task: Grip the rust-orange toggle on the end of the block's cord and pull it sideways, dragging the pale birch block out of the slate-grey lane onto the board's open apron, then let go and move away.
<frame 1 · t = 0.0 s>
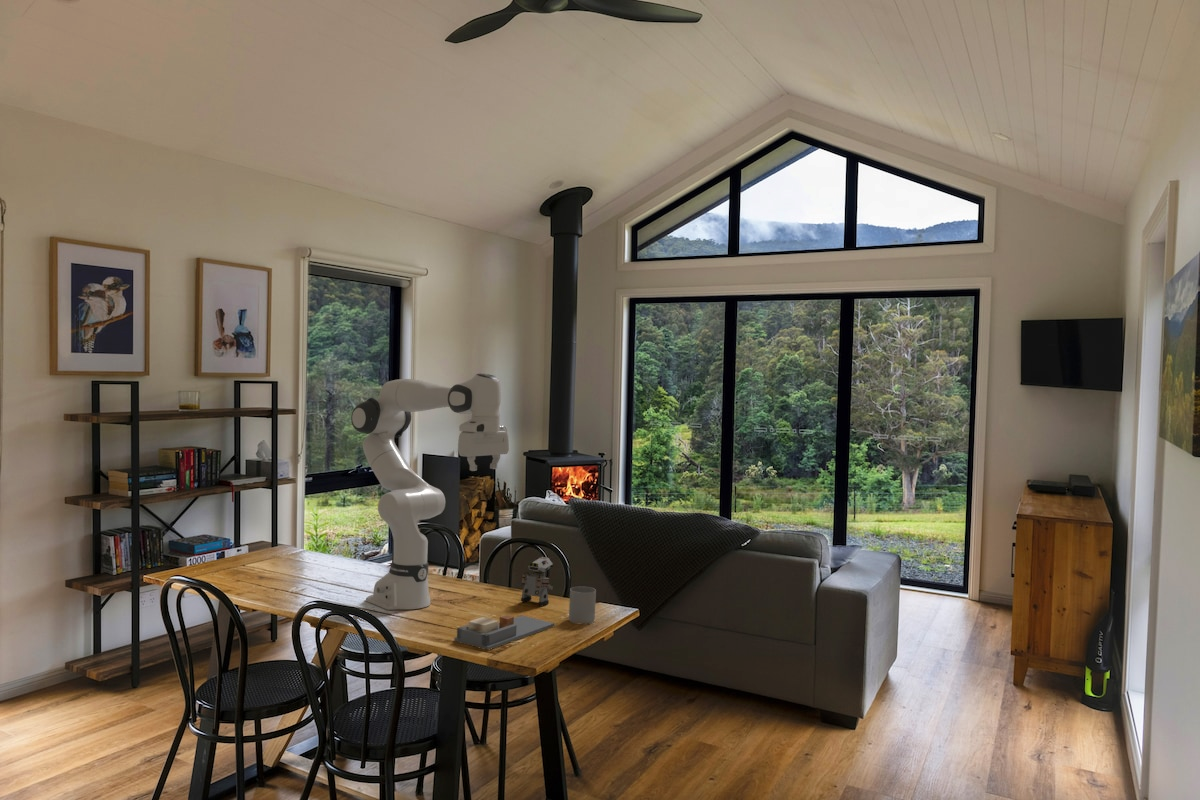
hand: (483, 469, 256), 48 cm above the table, tool pointing down, fingers open, 8 cm apart
lane: (495, 637, 242), on the table
cup: (581, 621, 264), on the table
figurine: (538, 602, 284), on the table
block: (482, 638, 238), point 1 cm above the table, touching lane
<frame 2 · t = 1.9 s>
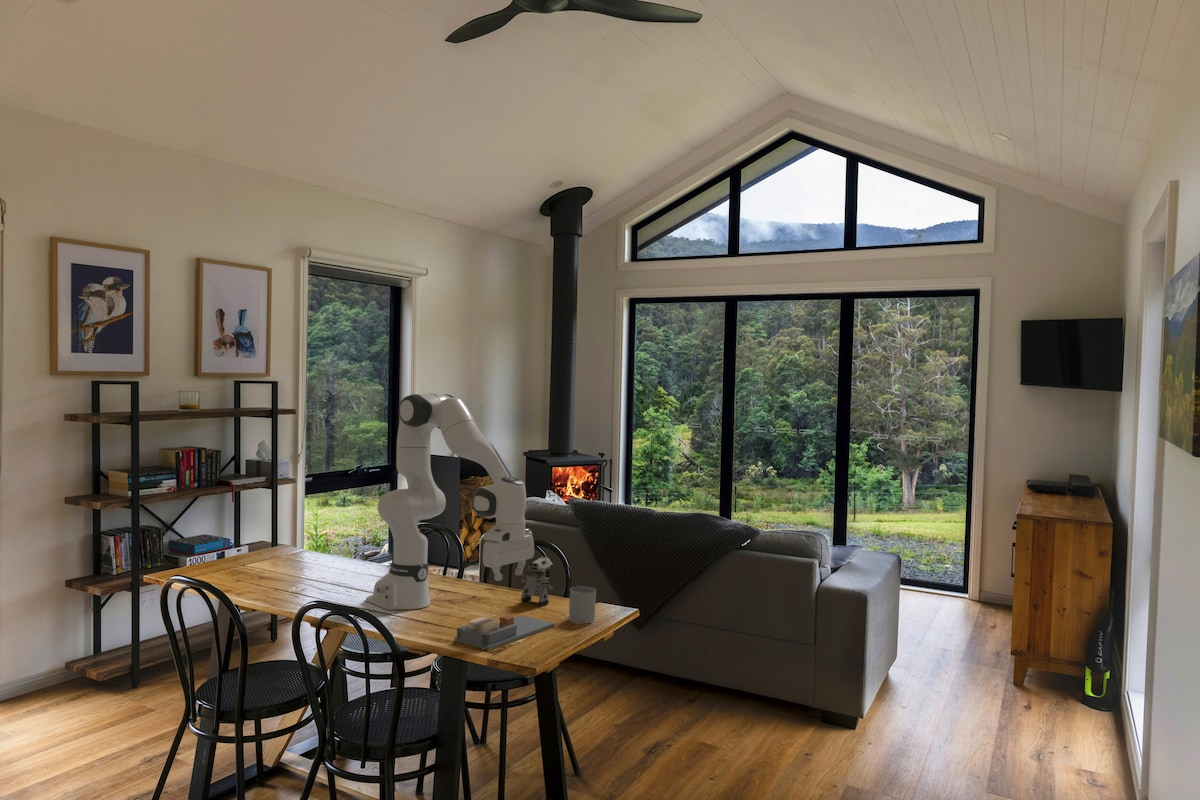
hand: (508, 577, 246), 17 cm above the table, tool pointing down, fingers open, 8 cm apart
nothing on the table moved.
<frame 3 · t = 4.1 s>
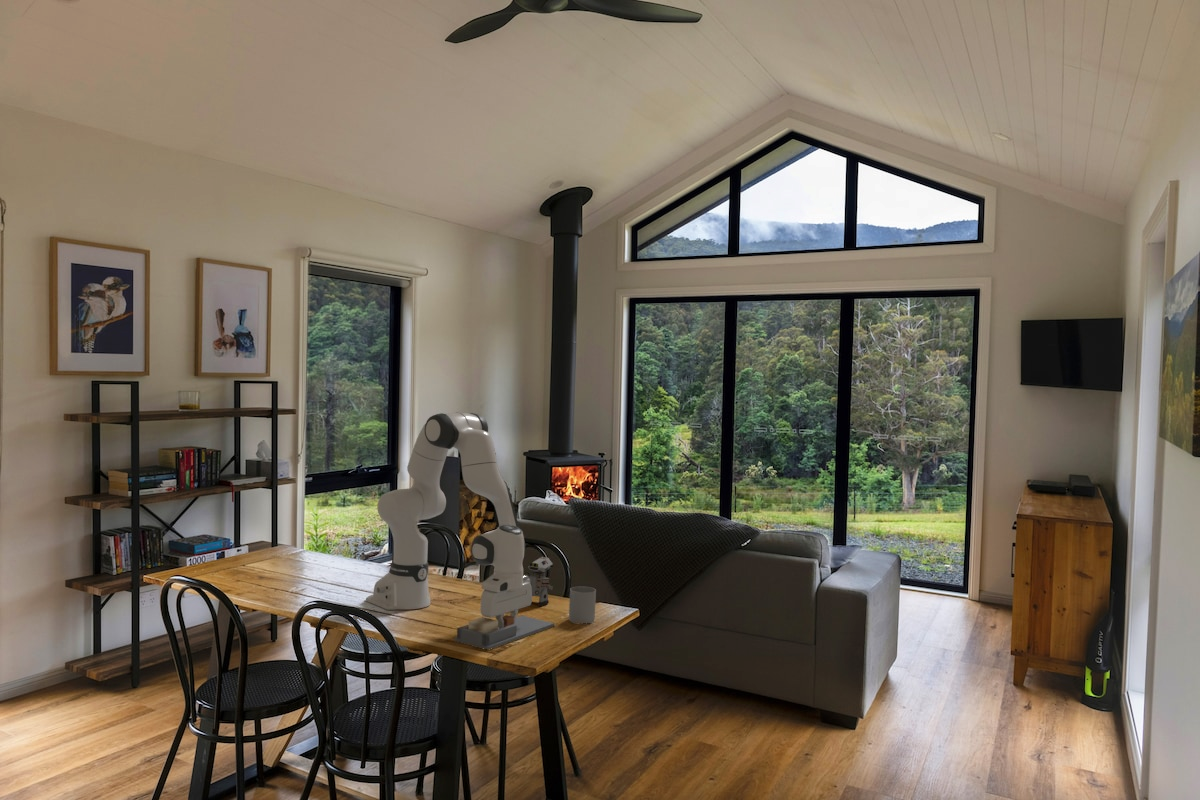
hand: (506, 625, 246), 2 cm above the table, tool pointing down, fingers closed on block, 3 cm apart
block: (482, 638, 238), point 1 cm above the table, touching gripper, lane
everything else where it was.
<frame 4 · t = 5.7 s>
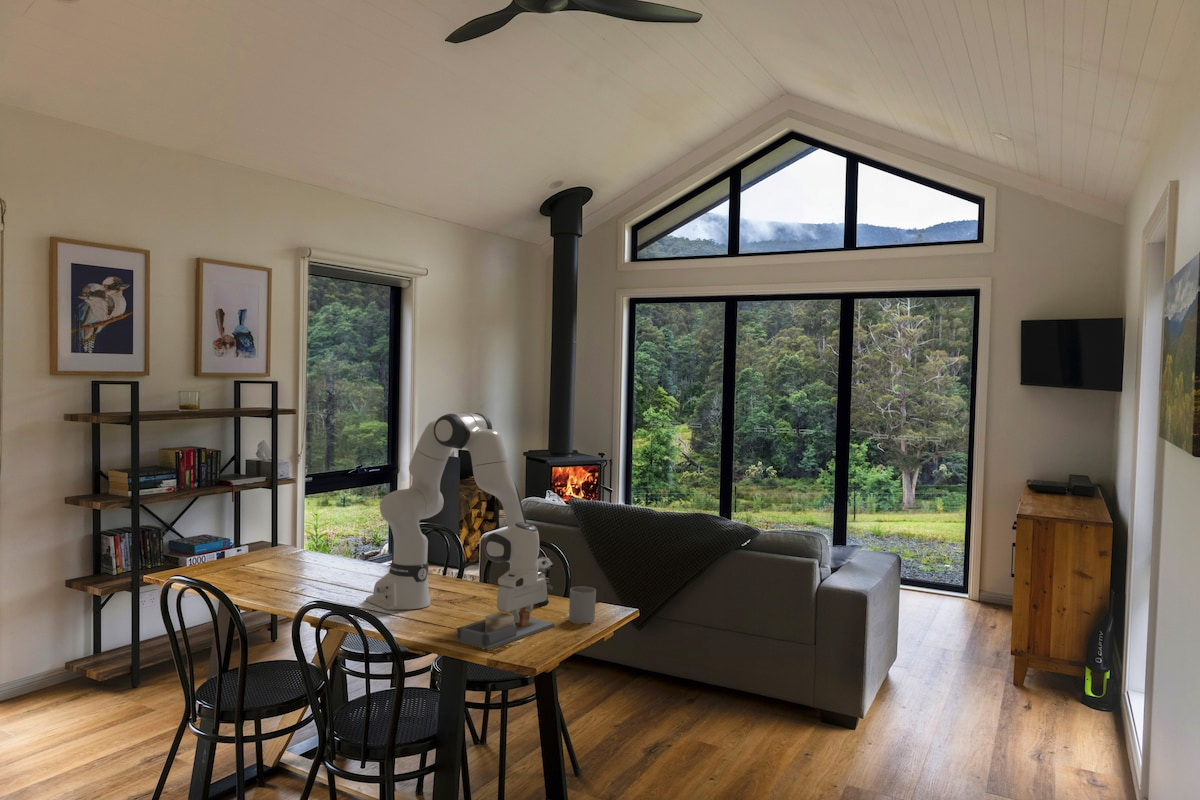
hand: (521, 620, 252), 2 cm above the table, tool pointing down, fingers closed on block, 3 cm apart
block: (499, 632, 244), point 1 cm above the table, touching gripper, lane
everything else where it was.
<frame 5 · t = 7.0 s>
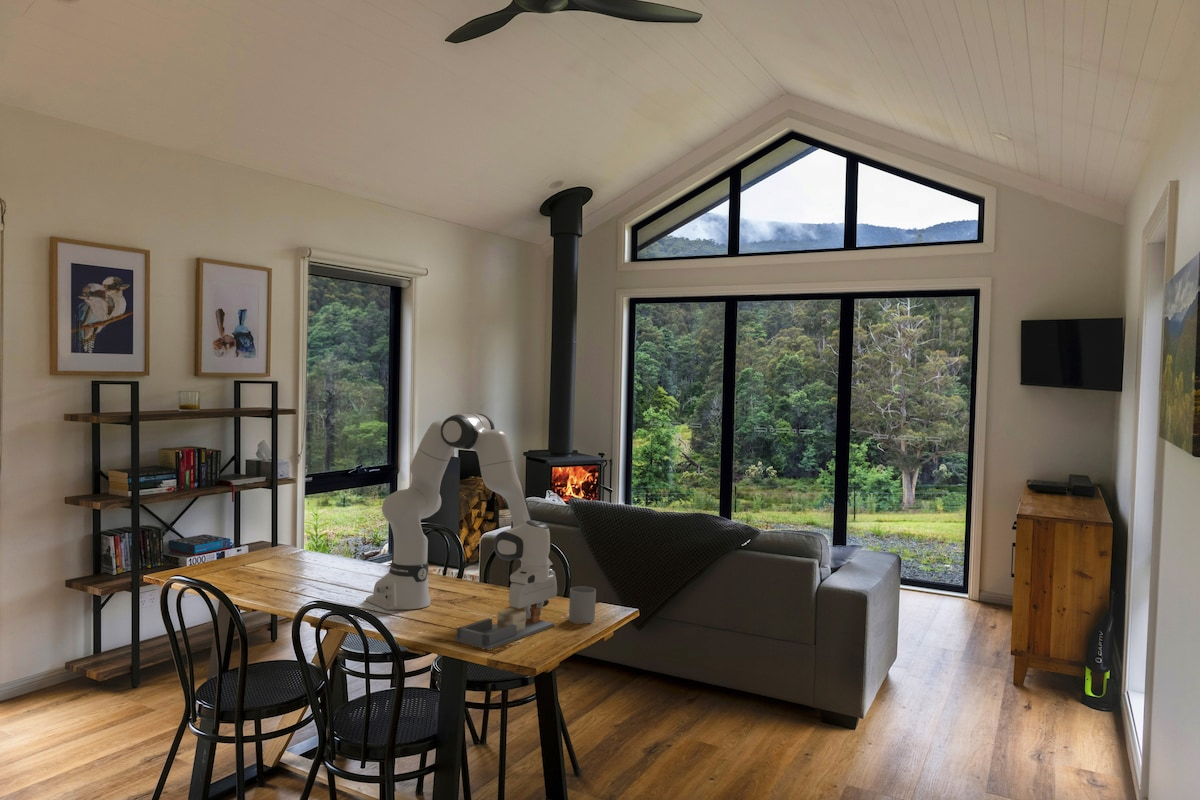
hand: (533, 616, 257), 2 cm above the table, tool pointing down, fingers closed on block, 3 cm apart
block: (511, 628, 248), point 1 cm above the table, touching gripper, lane
everything else where it was.
when the fingers open (2 cm above the table, at t = 7.7 s): block stays where it is, resting on lane.
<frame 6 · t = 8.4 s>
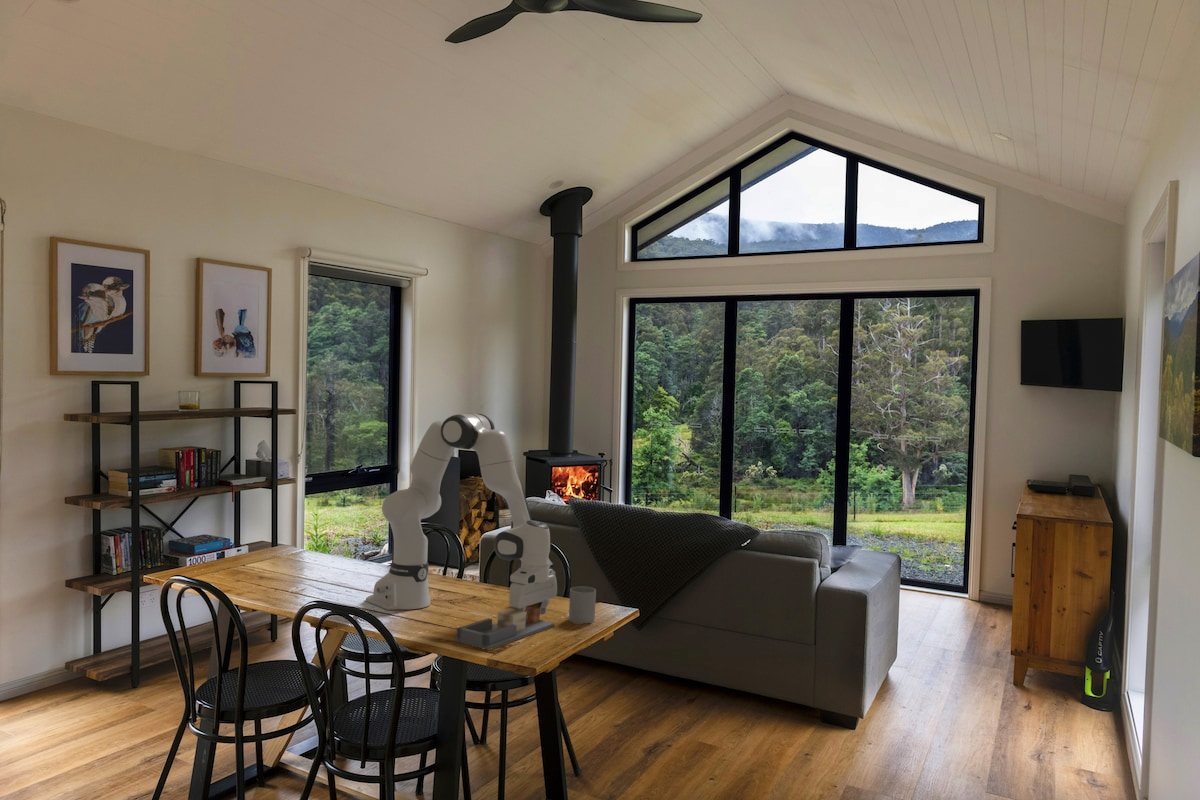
hand: (533, 616, 257), 2 cm above the table, tool pointing down, fingers open, 8 cm apart
block: (511, 628, 248), point 1 cm above the table, touching lane
everything else where it was.
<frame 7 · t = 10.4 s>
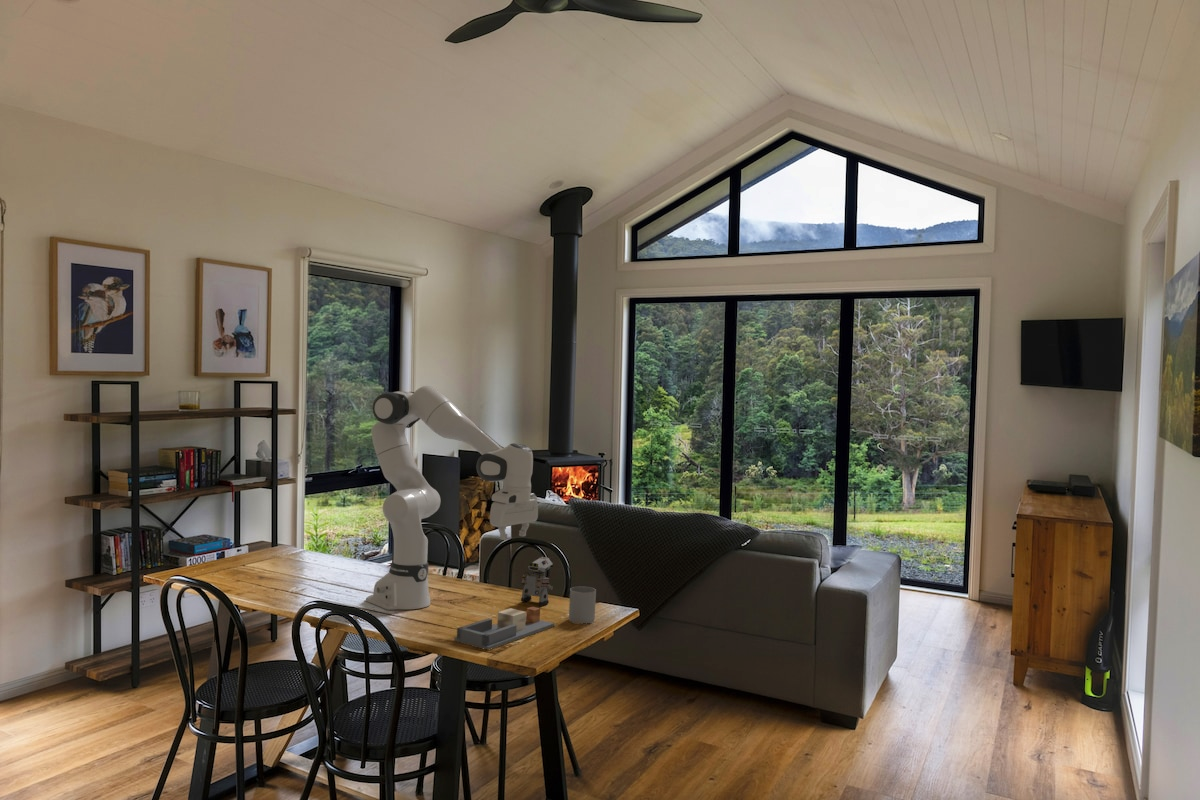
hand: (513, 537, 262), 26 cm above the table, tool pointing down, fingers open, 8 cm apart
nothing on the table moved.
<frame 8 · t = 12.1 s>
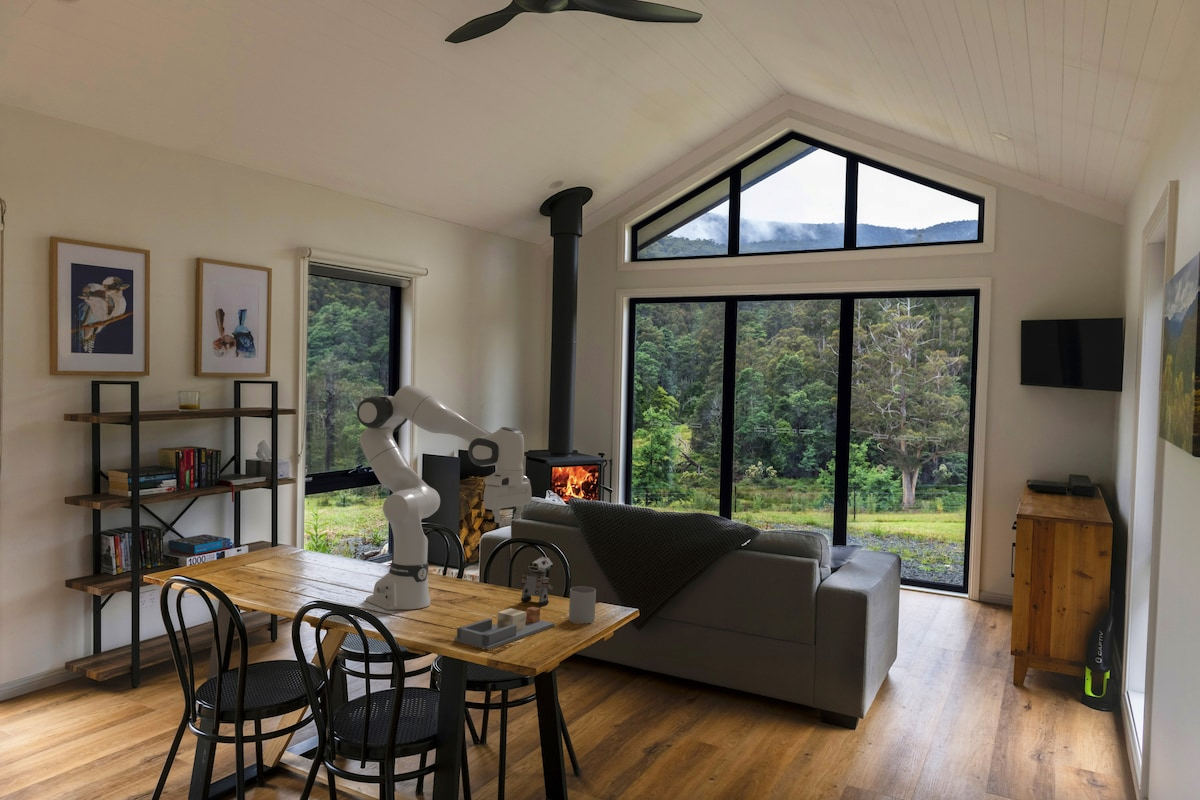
hand: (507, 520, 263), 31 cm above the table, tool pointing down, fingers open, 8 cm apart
nothing on the table moved.
at the end: block inside the target area on the lane (1.8 cm from its centre), point 1.0 cm above the lane's base; block tilted 0°; the gripper is holding nothing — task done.
